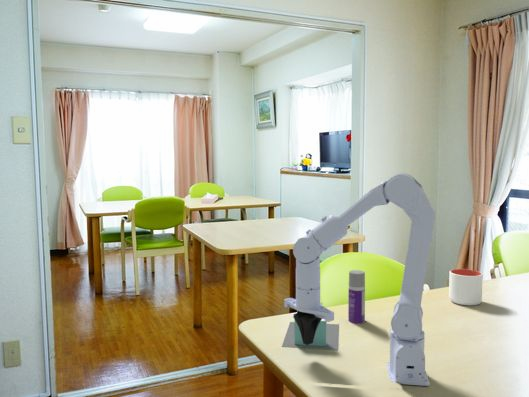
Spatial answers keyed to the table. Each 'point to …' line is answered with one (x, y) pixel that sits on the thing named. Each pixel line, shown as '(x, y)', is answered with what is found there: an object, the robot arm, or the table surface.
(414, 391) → the table surface
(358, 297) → the container
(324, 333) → the tile
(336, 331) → the mat
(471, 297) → the cup
